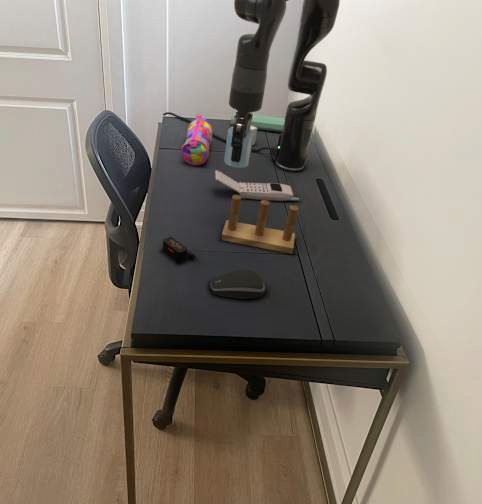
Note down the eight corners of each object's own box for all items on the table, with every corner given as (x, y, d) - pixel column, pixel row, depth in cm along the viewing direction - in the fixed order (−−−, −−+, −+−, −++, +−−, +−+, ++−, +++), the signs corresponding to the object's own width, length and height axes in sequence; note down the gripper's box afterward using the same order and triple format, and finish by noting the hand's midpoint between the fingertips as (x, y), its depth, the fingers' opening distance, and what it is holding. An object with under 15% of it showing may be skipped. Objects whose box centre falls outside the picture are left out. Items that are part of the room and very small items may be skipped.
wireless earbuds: (180, 266, 114) (181, 254, 112) (161, 251, 118) (162, 240, 116) (195, 259, 117) (196, 247, 115) (176, 244, 120) (177, 233, 119)
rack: (221, 240, 124) (226, 202, 118) (225, 225, 130) (231, 188, 123) (292, 254, 122) (301, 216, 116) (293, 238, 128) (302, 202, 121)
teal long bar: (232, 110, 182) (299, 118, 181) (232, 111, 188) (297, 119, 187) (230, 127, 183) (297, 135, 182) (230, 127, 189) (295, 135, 188)
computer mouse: (208, 278, 111) (210, 264, 109) (262, 280, 113) (265, 266, 110) (211, 299, 106) (213, 284, 103) (267, 300, 107) (270, 286, 105)
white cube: (254, 144, 175) (257, 128, 171) (244, 148, 171) (247, 132, 167) (241, 138, 178) (244, 122, 174) (231, 142, 174) (233, 126, 170)
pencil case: (184, 138, 173) (186, 113, 167) (211, 141, 173) (214, 116, 168) (179, 165, 155) (181, 138, 150) (209, 169, 155) (212, 142, 150)
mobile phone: (214, 169, 142) (299, 175, 144) (212, 187, 146) (295, 193, 148) (215, 179, 138) (303, 185, 140) (213, 197, 141) (298, 203, 143)
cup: (226, 155, 123) (230, 124, 119) (250, 159, 123) (255, 128, 118) (222, 165, 118) (226, 133, 114) (246, 169, 118) (251, 138, 113)
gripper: (260, 99, 103) (248, 171, 113) (268, 79, 115) (256, 146, 125) (225, 92, 104) (216, 165, 114) (236, 74, 116) (227, 141, 126)
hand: (237, 155), depth 119 cm, fingers closed on cup, 6 cm apart
